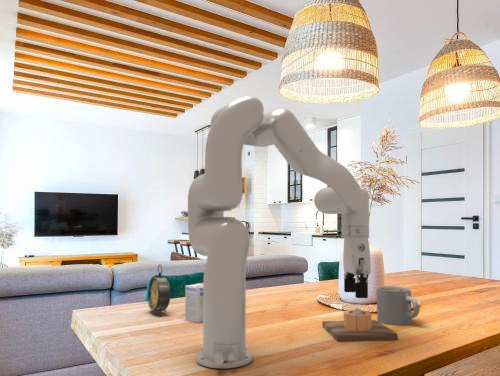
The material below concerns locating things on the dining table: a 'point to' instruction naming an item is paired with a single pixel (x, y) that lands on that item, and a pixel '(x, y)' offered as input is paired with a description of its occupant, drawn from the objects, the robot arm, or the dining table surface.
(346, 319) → the ring
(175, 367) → the dining table surface
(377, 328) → the post base
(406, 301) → the coffee mug
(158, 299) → the alarm clock
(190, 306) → the light bulb box
